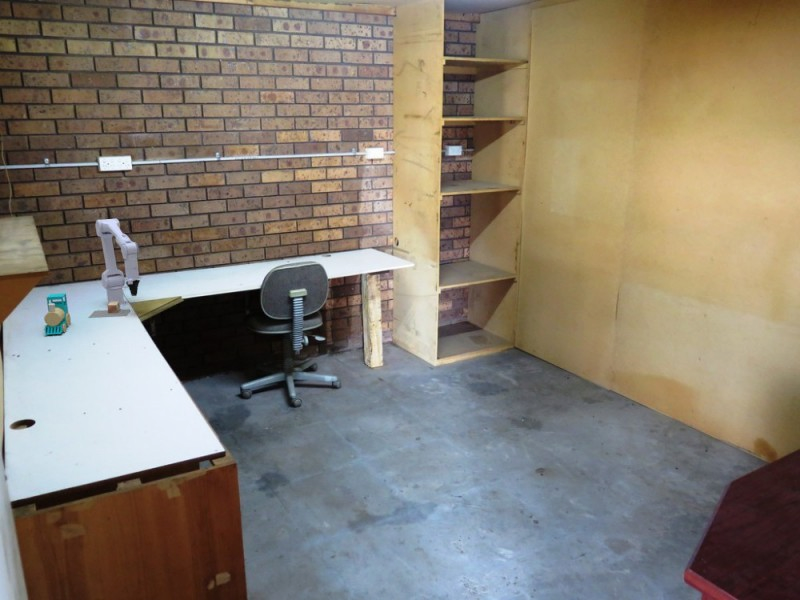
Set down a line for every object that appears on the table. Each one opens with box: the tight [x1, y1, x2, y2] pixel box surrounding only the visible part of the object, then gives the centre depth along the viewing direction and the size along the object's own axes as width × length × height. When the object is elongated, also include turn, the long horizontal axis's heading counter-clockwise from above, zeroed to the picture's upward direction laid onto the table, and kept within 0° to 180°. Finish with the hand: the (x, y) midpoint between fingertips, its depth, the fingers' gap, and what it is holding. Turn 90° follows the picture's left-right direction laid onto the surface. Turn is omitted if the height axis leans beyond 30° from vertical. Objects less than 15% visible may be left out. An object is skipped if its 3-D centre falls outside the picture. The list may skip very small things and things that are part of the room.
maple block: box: [106, 301, 121, 313], centre depth 303 cm, size 4×4×8 cm
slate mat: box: [87, 308, 131, 319], centre depth 300 cm, size 13×17×1 cm
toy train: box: [43, 292, 72, 336], centre depth 272 cm, size 8×17×15 cm, turn 16°
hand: (134, 295), depth 298 cm, fingers closed
